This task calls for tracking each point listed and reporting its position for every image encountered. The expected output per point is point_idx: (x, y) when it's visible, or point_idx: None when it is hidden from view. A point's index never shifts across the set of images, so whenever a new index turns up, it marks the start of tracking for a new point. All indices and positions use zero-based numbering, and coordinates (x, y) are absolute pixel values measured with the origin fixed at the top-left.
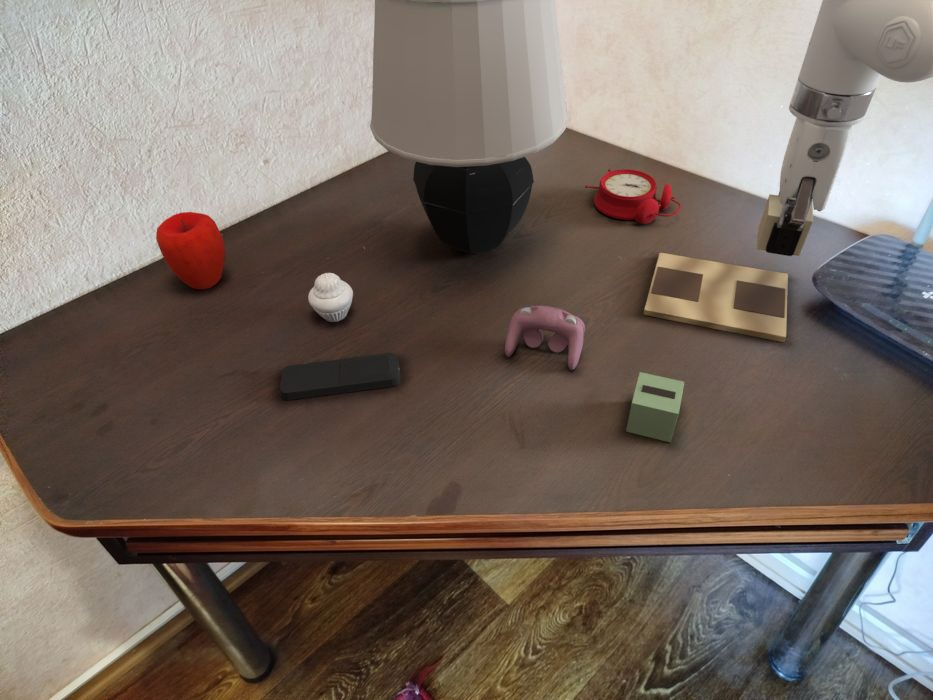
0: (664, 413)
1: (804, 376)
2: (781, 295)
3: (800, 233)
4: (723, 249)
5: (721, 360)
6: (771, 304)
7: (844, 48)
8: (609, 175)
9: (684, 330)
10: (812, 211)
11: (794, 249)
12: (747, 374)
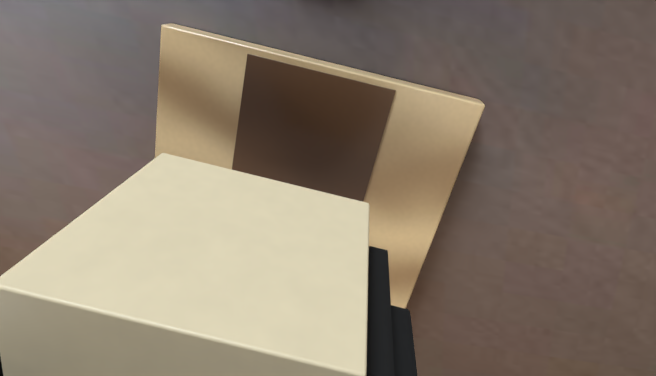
0: None
1: (631, 73)
2: (286, 75)
3: (389, 353)
4: (68, 176)
5: (536, 262)
6: (334, 115)
7: None
8: None
9: (424, 316)
10: (190, 334)
11: (386, 271)
12: (596, 216)
